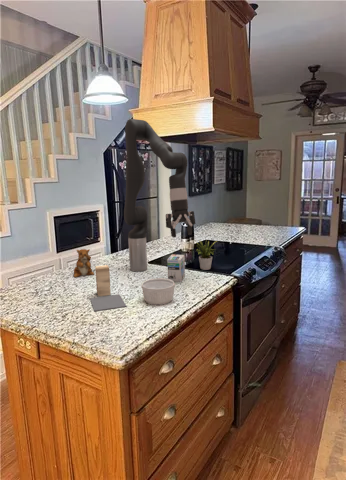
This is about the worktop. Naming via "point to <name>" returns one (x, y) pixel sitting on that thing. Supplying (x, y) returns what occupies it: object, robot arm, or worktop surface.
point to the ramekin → (158, 290)
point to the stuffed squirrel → (83, 264)
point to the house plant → (205, 255)
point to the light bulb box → (176, 267)
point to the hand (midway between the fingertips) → (182, 236)
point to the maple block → (103, 280)
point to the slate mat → (107, 302)
